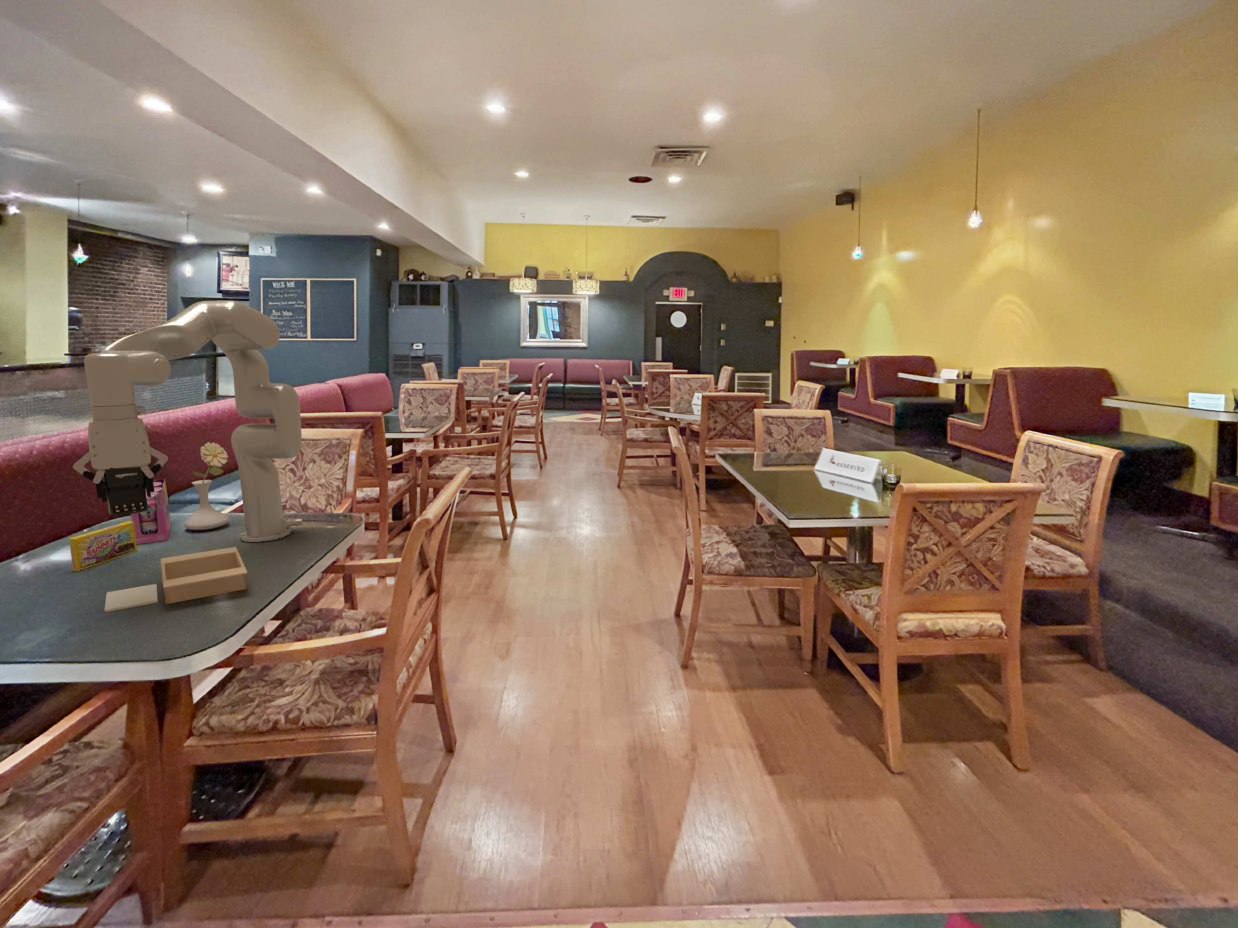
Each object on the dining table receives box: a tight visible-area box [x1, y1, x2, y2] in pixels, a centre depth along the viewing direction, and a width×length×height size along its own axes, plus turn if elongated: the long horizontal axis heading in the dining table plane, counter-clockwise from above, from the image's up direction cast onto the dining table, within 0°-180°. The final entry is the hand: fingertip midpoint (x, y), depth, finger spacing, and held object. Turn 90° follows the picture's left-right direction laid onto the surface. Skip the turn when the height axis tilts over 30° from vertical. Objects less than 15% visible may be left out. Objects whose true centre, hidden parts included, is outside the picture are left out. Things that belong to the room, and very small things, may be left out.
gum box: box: [130, 478, 172, 545], centre depth 195 cm, size 24×8×14 cm, turn 31°
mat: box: [103, 583, 159, 613], centre depth 147 cm, size 9×12×1 cm
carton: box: [160, 546, 249, 605], centre depth 153 cm, size 15×22×5 cm
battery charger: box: [102, 467, 148, 516], centre depth 144 cm, size 7×4×11 cm, turn 133°
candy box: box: [68, 520, 138, 572], centre depth 172 cm, size 16×2×8 cm, turn 168°
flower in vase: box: [183, 441, 230, 531], centre depth 200 cm, size 13×11×25 cm
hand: (127, 497), depth 144 cm, fingers closed on battery charger, 7 cm apart
